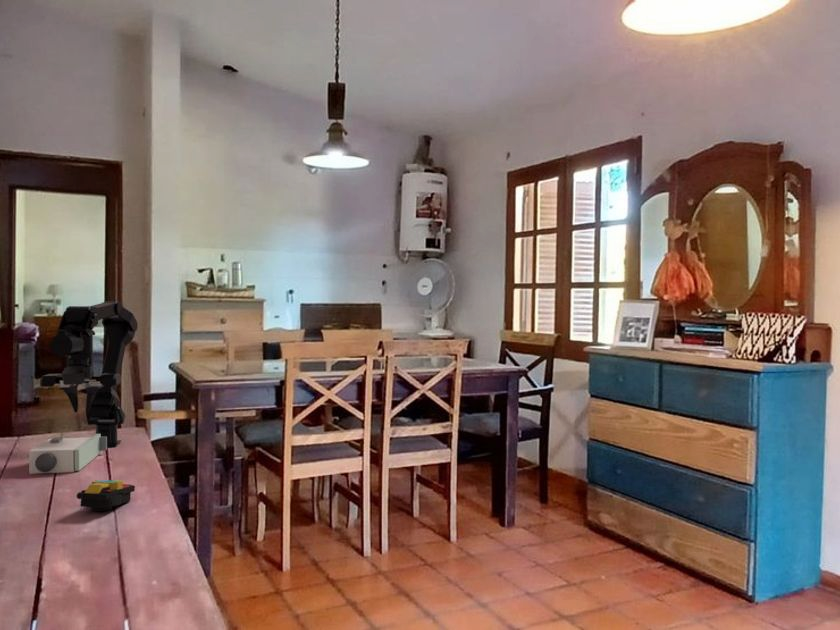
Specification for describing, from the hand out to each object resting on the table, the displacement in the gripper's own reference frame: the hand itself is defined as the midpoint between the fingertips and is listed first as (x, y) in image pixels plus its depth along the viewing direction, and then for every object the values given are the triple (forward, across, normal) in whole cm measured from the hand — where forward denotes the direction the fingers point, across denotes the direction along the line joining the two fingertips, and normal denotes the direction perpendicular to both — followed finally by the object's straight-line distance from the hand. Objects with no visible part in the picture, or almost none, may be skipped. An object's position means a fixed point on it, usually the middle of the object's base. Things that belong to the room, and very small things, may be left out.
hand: (81, 412), depth 188 cm
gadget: (+12, +18, -46) cm, 51 cm away
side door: (+12, +4, -7) cm, 14 cm away
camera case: (+12, -2, -9) cm, 15 cm away
